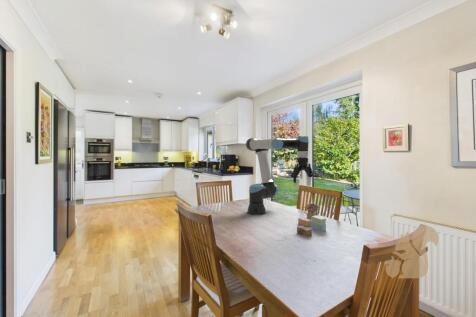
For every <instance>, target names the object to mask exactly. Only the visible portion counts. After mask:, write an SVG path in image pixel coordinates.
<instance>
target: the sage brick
mask: <svg viewBox="0 0 476 317" xmlns="http://www.w3.org/2000/svg"><path fill="white" fill-rule="evenodd" d="M326 220H327V219H326V218H325V217H323V216H319V215H318V216H316V215H315V216H311V223H315V224H317V225H320V226H323V225H326V226H327V224H326Z"/></svg>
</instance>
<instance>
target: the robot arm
mask: <svg viewBox="0 0 476 317" xmlns="http://www.w3.org/2000/svg"><path fill="white" fill-rule="evenodd" d="M309 142H310V141H309V136H308V135H298V136H297V138H263V137H250V138H249V139H247V140H246V142H245V147H246V149H247V150H249V151H250V152H255V155H256V156H257V158H258V165H259V172H260V177H261V183H253V184H251V185H250V186H249V189H248V192H249V194H248V195H249V197H248V198H249V204H248V207H247V214H249V213H251V214H250V215H254V214H260V215H264V214H266V213H265V212H266V207H265V204H264V199H273V198H275V197H277V195H278V194H279V187H278V185H277V184H275V181H274V180H273V178H272V174H271V173H272V172H271V167H270V164H269V158H268V153H269V150H272V149H273V150H297V160H296V162H297V163H295V164H294V167H293V170H292V173H291V176H290V177H291V178H292V179H293V188H296V189H297V188H298V176H299V175H300V173H301V171H304V172H305V174H306V175H307V177H306V178H307V179H306V181H307V182H306V186H308V187H311V183H312V178H313V177H314V172H313V170H312V167H311V163H309V144H310V143H309Z"/></svg>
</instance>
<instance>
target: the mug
mask: <svg viewBox="0 0 476 317" xmlns="http://www.w3.org/2000/svg"><path fill="white" fill-rule="evenodd" d="M319 207H320V205H319V204H317V203H307V204H306V205H305V206H303V207H302V211H303V213H304V214H306V219H309V220H311V216H315V215H316V216H319V215H318V210H319V209H320V208H319ZM305 208H306V210H307V212H305V210H304V209H305Z"/></svg>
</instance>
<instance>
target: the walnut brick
mask: <svg viewBox="0 0 476 317" xmlns="http://www.w3.org/2000/svg"><path fill="white" fill-rule="evenodd" d="M296 233H297V234H299V235H301V236H303V237H307V238H308V237H311V236H313V229H311V227H310V228H309V227H306V226H304V225H299V226H296Z"/></svg>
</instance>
